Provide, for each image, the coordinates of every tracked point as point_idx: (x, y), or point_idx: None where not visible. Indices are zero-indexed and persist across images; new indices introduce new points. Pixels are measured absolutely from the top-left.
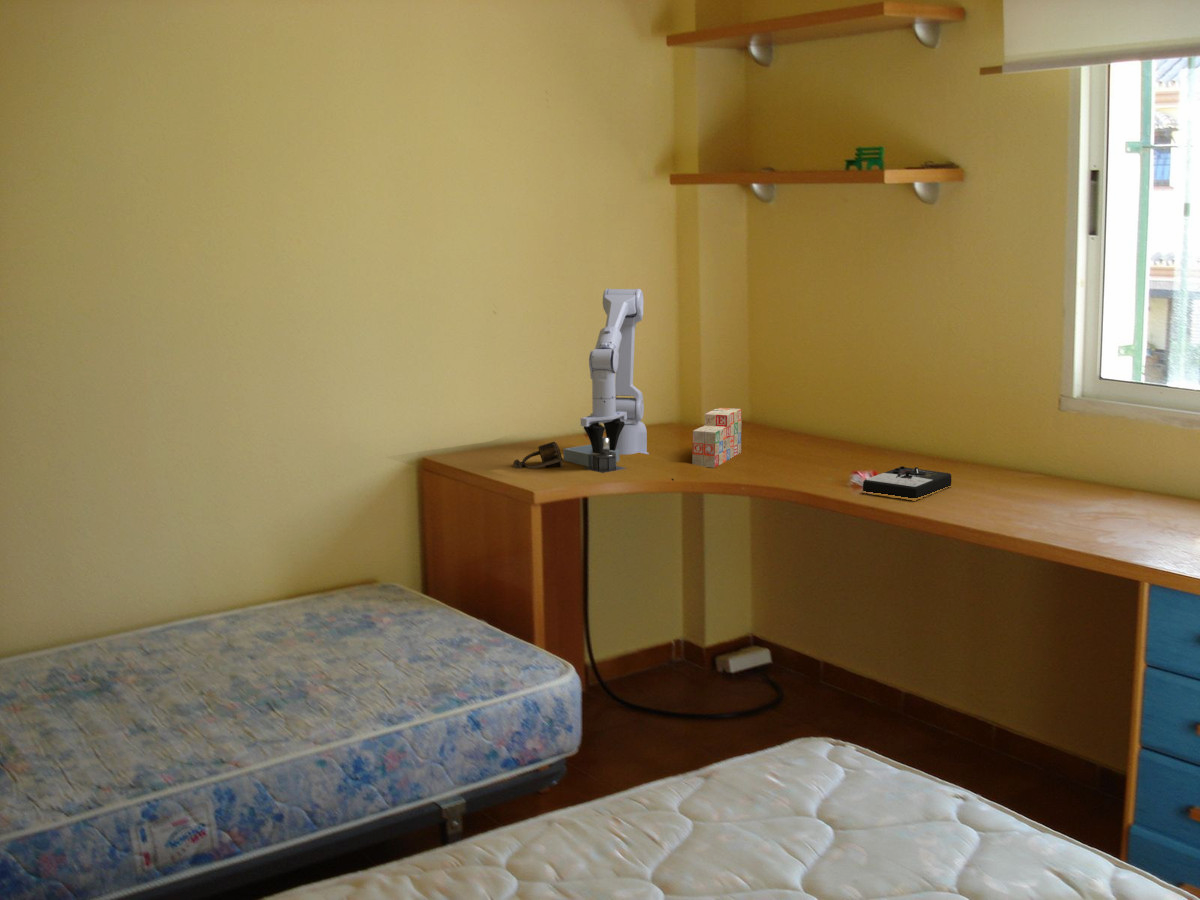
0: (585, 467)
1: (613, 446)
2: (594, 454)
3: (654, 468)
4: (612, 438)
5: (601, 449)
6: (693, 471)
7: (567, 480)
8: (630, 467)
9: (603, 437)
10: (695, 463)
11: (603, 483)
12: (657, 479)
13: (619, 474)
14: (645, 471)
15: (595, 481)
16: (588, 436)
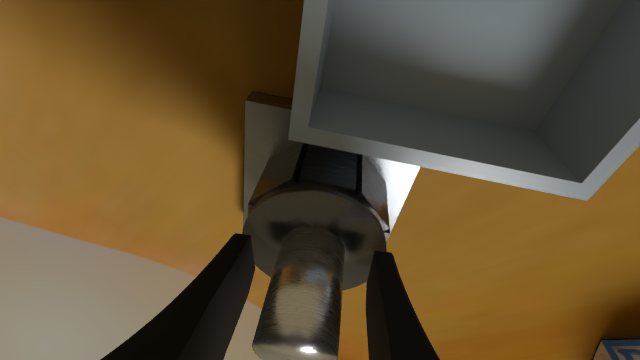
0: (265, 111)
1: (366, 306)
2: (248, 225)
3: (505, 279)
4: (374, 355)
5: (246, 293)
6: (503, 356)
7: (91, 153)
8: (486, 210)
9: (295, 349)
10: (604, 355)
11: (185, 261)
12: (343, 330)
13: None
14: (432, 277)
15: (180, 234)
16: (143, 327)
